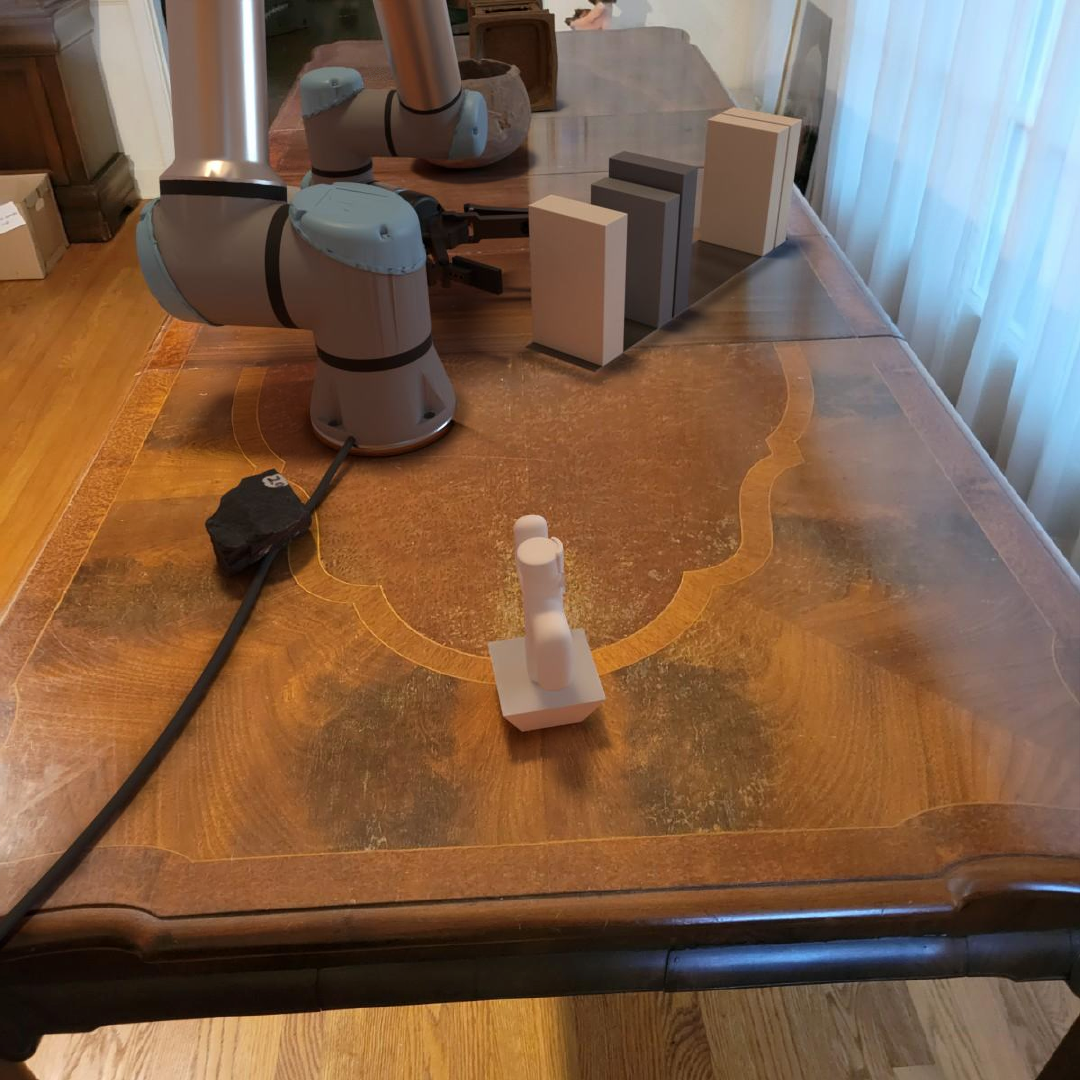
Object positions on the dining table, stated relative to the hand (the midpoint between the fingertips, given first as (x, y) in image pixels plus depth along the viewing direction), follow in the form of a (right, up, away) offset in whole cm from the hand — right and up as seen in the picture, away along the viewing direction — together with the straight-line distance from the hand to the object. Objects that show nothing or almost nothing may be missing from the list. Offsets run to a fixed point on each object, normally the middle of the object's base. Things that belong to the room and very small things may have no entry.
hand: (539, 261), depth 109 cm
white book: (+4, -9, +3) cm, 10 cm away
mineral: (-24, -32, -22) cm, 45 cm away
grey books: (+12, -3, +10) cm, 16 cm away
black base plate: (+16, 0, +15) cm, 23 cm away
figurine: (0, -43, -37) cm, 57 cm away
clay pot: (-12, +33, +57) cm, 67 cm away
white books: (+28, +10, +26) cm, 39 cm away
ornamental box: (-6, +62, +93) cm, 112 cm away
